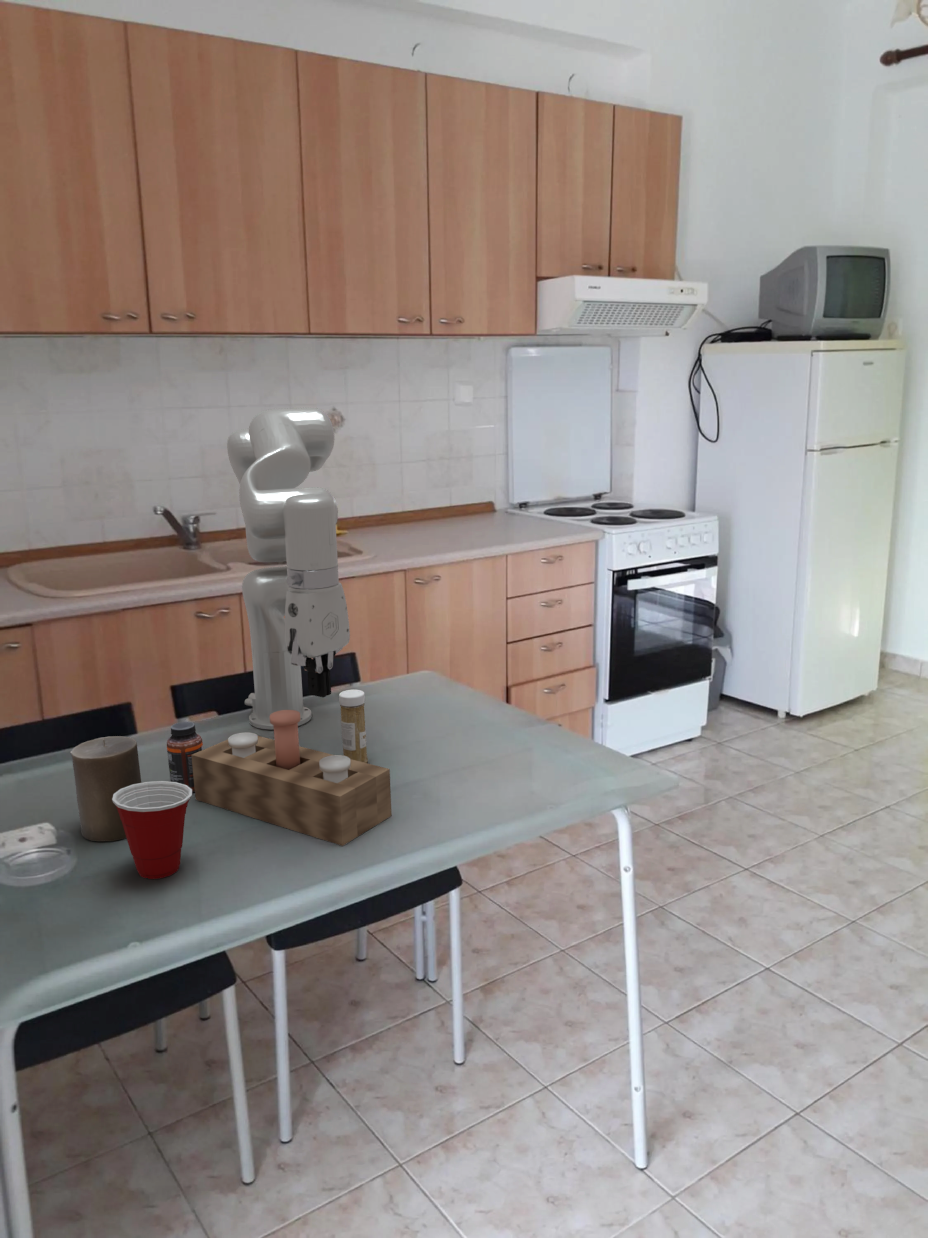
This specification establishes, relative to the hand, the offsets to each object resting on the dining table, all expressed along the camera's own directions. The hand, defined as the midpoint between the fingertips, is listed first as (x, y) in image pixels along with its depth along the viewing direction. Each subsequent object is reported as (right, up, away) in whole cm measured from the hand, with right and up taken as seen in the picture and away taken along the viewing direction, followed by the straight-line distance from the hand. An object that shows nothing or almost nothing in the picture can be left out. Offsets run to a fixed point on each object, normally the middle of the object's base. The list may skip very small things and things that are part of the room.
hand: (320, 694), depth 151 cm
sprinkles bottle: (+2, -15, +27) cm, 31 cm away
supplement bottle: (-25, -18, +18) cm, 36 cm away
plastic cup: (-21, -24, -10) cm, 34 cm away
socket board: (-6, -19, +9) cm, 22 cm away
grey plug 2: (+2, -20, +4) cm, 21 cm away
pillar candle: (-33, -21, +3) cm, 39 cm away
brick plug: (-6, -13, +8) cm, 17 cm away
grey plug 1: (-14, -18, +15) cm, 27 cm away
